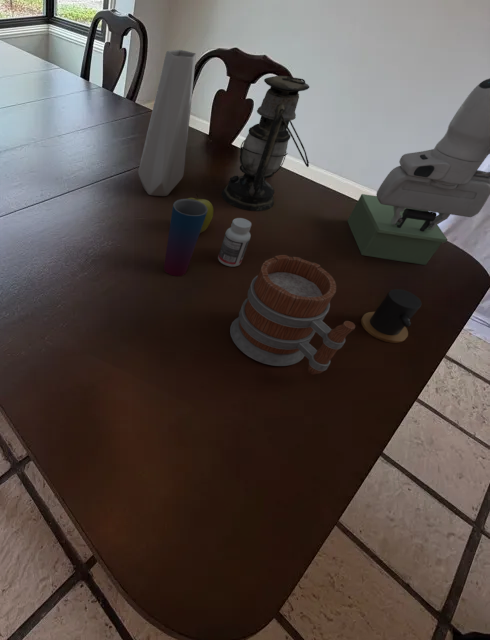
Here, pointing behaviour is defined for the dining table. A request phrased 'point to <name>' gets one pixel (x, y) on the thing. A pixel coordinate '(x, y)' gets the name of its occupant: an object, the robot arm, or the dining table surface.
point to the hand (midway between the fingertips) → (410, 226)
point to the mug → (289, 315)
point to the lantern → (266, 146)
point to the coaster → (387, 338)
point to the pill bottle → (235, 242)
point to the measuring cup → (395, 312)
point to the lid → (410, 225)
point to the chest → (387, 240)
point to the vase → (168, 125)
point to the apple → (208, 215)
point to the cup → (183, 234)
